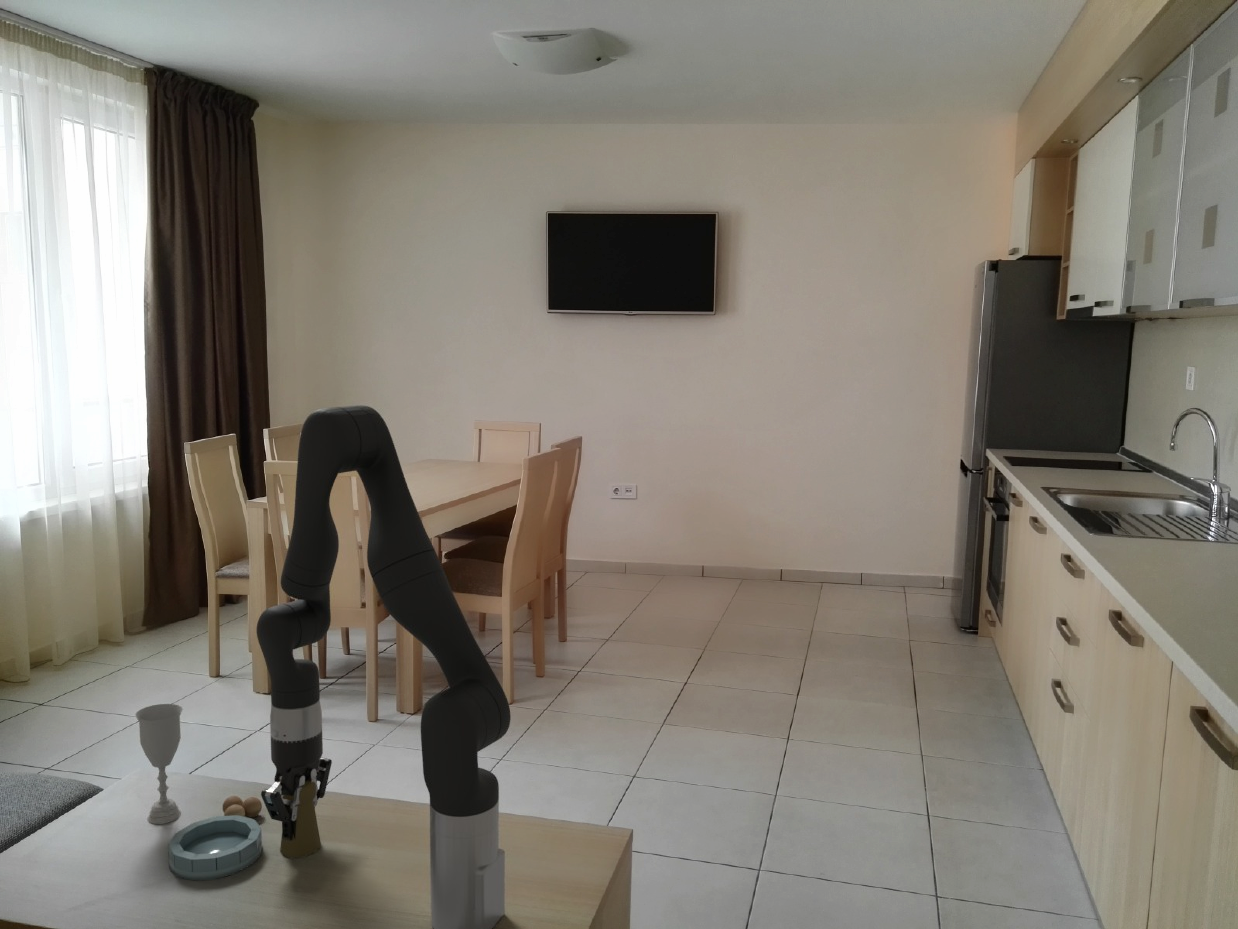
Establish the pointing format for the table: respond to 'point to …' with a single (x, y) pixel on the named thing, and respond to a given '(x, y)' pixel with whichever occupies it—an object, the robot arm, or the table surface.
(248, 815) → the bead pile
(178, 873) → the dish
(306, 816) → the cork
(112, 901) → the table surface
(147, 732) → the chalice
